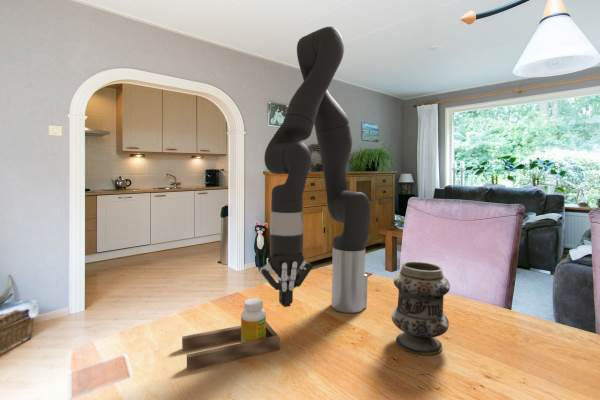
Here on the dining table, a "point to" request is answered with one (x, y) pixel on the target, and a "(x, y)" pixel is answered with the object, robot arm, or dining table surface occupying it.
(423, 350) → the apothecary jar
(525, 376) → the dining table surface
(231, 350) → the walnut U-rest
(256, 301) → the supplement bottle
